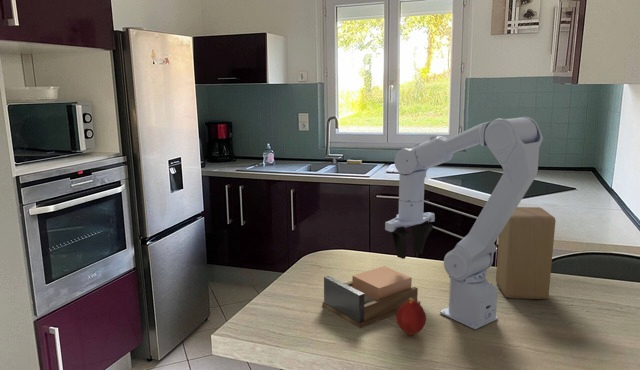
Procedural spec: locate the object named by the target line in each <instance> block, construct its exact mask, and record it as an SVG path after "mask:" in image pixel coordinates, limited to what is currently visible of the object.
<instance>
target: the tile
mask: <svg viewBox="0 0 640 370" xmlns="http://www.w3.org/2000/svg"><path fill="white" fill-rule="evenodd" d="M351 277H352V280H351V281H352V288H354V289H356V290H358V291H360V292H362V293H364V294H366V295H368V296H370V297H372V298H373V299H375V300H378V299H381V298H384V297H387V296H390V295H392V294H395V293H398V292H401V291H404V290H407V289H410V288H412V279H413V278H412V277H411V276H409V275H407V274H404V273H401V272H399V271H397V270H394V269H392V268H390V267H388V266H385V265H384V266H383V265H382V266H381V267H377V268H374V269H370V270H367V271H364V272H361V273H356V274H353V275H352V276H351Z"/></svg>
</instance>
